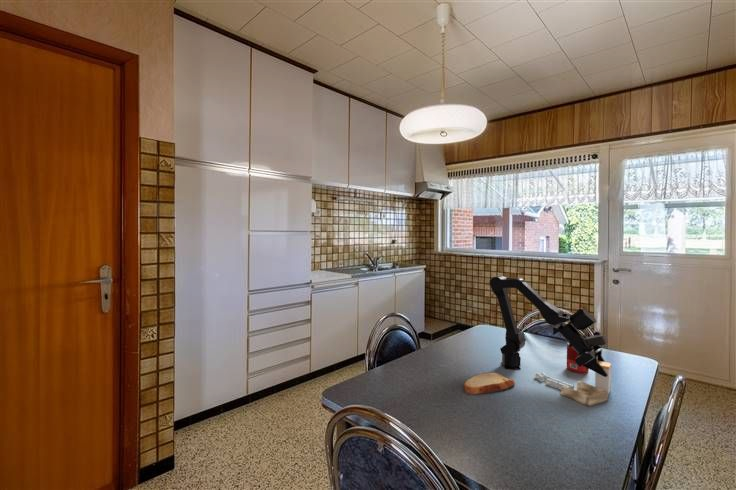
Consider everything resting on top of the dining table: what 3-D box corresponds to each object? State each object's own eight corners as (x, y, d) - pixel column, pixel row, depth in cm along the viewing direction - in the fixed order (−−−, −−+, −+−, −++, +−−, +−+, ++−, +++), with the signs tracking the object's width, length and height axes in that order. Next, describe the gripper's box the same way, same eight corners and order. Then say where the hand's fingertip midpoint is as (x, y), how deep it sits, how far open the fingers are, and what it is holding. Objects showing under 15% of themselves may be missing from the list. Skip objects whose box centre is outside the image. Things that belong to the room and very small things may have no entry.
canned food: (591, 374, 141) (592, 347, 140) (570, 372, 142) (571, 346, 142) (584, 367, 148) (584, 342, 148) (563, 366, 150) (564, 340, 150)
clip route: (563, 394, 123) (563, 388, 123) (530, 378, 137) (530, 373, 137) (575, 391, 125) (576, 385, 125) (542, 375, 139) (542, 371, 139)
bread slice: (462, 393, 124) (462, 383, 124) (466, 374, 141) (466, 365, 141) (516, 402, 118) (516, 391, 118) (514, 381, 135) (514, 372, 134)
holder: (559, 393, 123) (559, 385, 123) (577, 388, 128) (577, 380, 128) (589, 406, 114) (589, 397, 114) (607, 400, 119) (607, 391, 119)
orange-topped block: (595, 391, 125) (595, 364, 125) (597, 387, 129) (598, 360, 129) (608, 394, 123) (609, 367, 122) (610, 390, 126) (611, 363, 126)
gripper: (586, 330, 121) (624, 369, 114) (596, 320, 135) (631, 355, 128) (560, 347, 127) (595, 386, 120) (573, 336, 140) (605, 370, 133)
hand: (607, 373), depth 125 cm, fingers open, 5 cm apart
